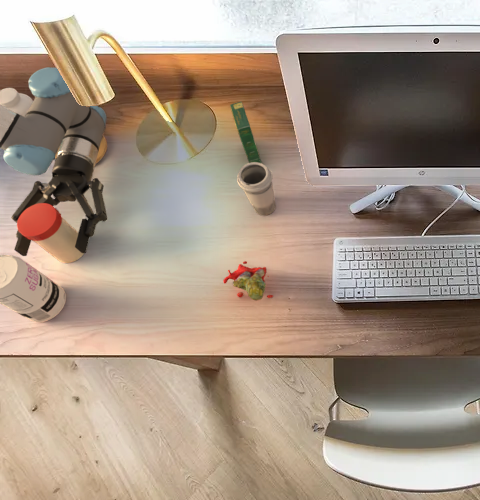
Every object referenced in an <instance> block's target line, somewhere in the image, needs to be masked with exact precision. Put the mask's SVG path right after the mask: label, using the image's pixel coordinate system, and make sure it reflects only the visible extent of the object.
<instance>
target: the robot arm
mask: <svg viewBox="0 0 480 500" xmlns="http://www.w3.org/2000/svg"><path fill="white" fill-rule="evenodd" d="M57 68H58V67H50V66H49V67H48V66H47V67H44V68H40V69H38V70H36V71H35V72H34V73H32V74H31V76H30V77H29V79H28V88H29V90H30V92H31V94H32V95H33V96H34V100H33V103H32V105H31V107H30V108H29V110H28V112H27V114H26V115H25V117H24V116H22V115H19V114H17V113H16V112H14V111H12V110H10V109H8V108H6V107H4V106H3V105H1V104H0V149H1V150H3V160H4V162H5V163H6V164H7V166H9V167H11V168H12V169H13V170H14V171H17V172H19V173H21V174H24V175H28V176H41V175H44V174H45V173H46V172H47V171H48V169H49V167H50V166H51V164H52V162H53V161H54V163H53V167H52V170H51V179H50V181H48V182H44V183H43V182H42V181H40V180H36V181H35V182H34V183H33V186H32V189H31V190H30V191H29V193H28V194H27V195H26V197H25V198H24V200H23V201H22V202H21V204H20V205H19V206H18V207H17V208H16V210H15V212H14V213H13V214H12V215H11V217H10V218H11V220H12V221H13V222H15V223H16V224H17V221H18V218H19V217H20V215H21V214H22V213H23V212H24V211H25V210H26V209H27V208H29V207H30V206H32V205H35V204H39V203H47V204H50V205H52V206H53V207H55V206H58V205H59V204H60V203H64V202H76V201H77V203H78V205H79V206H80V209H81V210H82V211H83V213H84V216H85V217H86V218H81V221H80V224H79V225H80V226H79V229H78V237H77V241H76V244H75V248H77V249H78V250H79V251H80V252H81V253H84V254H86V253H87V249H88V245H89V242H90V238H93V237H94V235H95V232H96V228H97V225H98V224H99V222H106V221H108V214H107V213H108V212H107V210H106V204H105V199H104V195H103V191H104V186H105V185H104V184H103V183H102V182H101V180H100V179H99V178H97V177H94V178H93V175H94V170H95V169H94V168H95V167H96V164H97V163H96V159H97V155H98V151H99V147H100V143H101V140H102V137H103V136H104V135H105V131H106V125H107V114H106V111H105V110H104V109H103V108H102V107H100V106H98V105H97V106H90V107H86V106H81V105H79V104H78V103H77V102H76V100H75V98H74V97H73V95H72V93H71V92H70V90H69V88H68V86H67V84H66V83H65V81H64V80H63V78H62V76H61V75H60V73H59V71H58V69H59V68H58V69H57ZM59 146H60V147H59ZM58 148H59V150H58ZM57 151H58V153H57ZM56 153H57V158H55V155H56ZM95 163H96V164H95ZM92 178H93V179H92ZM88 190H90V191H91V195H92V196H91V197H92V200H93V205H94V210H95V212H94V211H93V209H92V208H91V206H90V204H89V202H88V200H87V197H86V196H85V193H86V192H87V191H88ZM53 197H54V198H53ZM15 237H16V238H17V240H16V243H15V246H14V249H13V250H14V251H15V252H16V253H17V254H19V255H20V256H21V257H27V256H28V252H29V249H30V246H31V243H32V240H28V239H27V238H26V237H24V236H23V235H22V234H21V233H20V232H19V231H18V230H16V233H15Z"/></svg>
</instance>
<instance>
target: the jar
mask: <svg viewBox="0 0 480 500" xmlns="http://www.w3.org/2000/svg"><path fill="white" fill-rule="evenodd" d="M78 233H79V231H77V230H76V229H75V228H74V227H73V226H72V225H71V224H70V223H69V222H68V221H67V220H66V219H65V218H64V217H62V223H61V226H60V228H59V229H58V231H57V232H56V233H55V234H54V235H52V236H51V237H49V238H47V239H45V240H41V241H33V242H34V243H35V244H36V245H38V246H39V247H41V248H42V249H43V250H44V251H46V252H47V253H48V254H49V255H51V256H52V257H53V258H55V259H56V260H57V261H58V262H60V263H62V264H70V263H74V262H77V261H78V260H80V259H81V258H82V257H83V256H84V255H85V253H81V252H80V251H79V250H78V249H77V248H75V244H76V241H77V237H78Z"/></svg>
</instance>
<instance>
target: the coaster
mask: <svg viewBox="0 0 480 500" xmlns="http://www.w3.org/2000/svg"><path fill="white" fill-rule="evenodd" d="M59 147H60V146H59ZM58 150H59V148H58ZM107 151H108V142H107V139H106V138H105V136H104V135H103V137H102V140H101V143H100V147H99V151H98V155H97V159H96V163H95V165H96V164H97V163H99V162H100V161H101V160H102V159H103V157H104V156H105V155H106V152H107ZM57 153H58V151H57ZM57 153H56V155H55V159H56V158H57Z"/></svg>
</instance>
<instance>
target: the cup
mask: <svg viewBox="0 0 480 500" xmlns="http://www.w3.org/2000/svg"><path fill="white" fill-rule="evenodd" d="M236 180H237V181H236V182H237V184H238V186H239V187H240V188H241V189H242V190H243V192H244V194H245V195H246V198H247V200H248V201H249V204H250V205H251V206H252V208H253V209H254V211H255V213H256V214H258V215H259V216H263V217H265V216H266V217H267V216H269V215H271V214H272V213H274V212H275V210H276V206H277V204H276V200H275V198H276V197H275V191H274V187H273V173H272V171H271V170H270V168H268V167H267V166H266V165H265V164H263V163H262V162H261V163H258V162H251V163H249V162H248V163H245V164H244V165H242V166H241V168H240V169H239V171H238V173H237V177H236Z"/></svg>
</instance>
